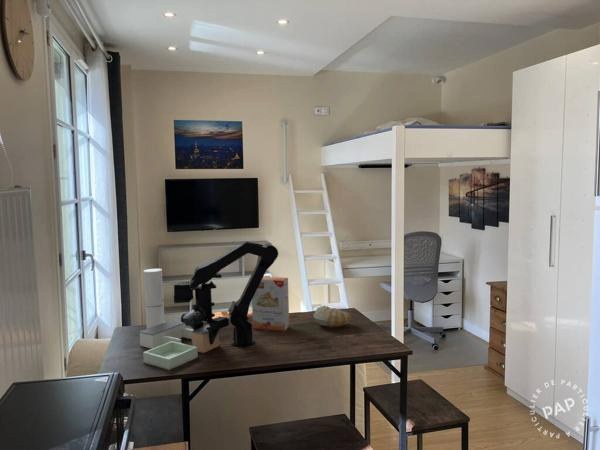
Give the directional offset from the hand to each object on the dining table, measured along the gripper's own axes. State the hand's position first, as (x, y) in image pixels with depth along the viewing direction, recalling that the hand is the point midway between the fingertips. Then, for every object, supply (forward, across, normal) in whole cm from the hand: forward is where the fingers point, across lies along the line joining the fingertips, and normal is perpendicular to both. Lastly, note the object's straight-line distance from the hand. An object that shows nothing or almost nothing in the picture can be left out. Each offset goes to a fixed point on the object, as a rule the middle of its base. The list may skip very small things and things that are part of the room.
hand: (205, 343), depth 169 cm
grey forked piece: (+2, -16, 0) cm, 16 cm away
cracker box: (+2, +7, +30) cm, 31 cm away
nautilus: (+2, +26, +46) cm, 53 cm away
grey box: (+2, 0, 0) cm, 2 cm away
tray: (+2, -2, -14) cm, 14 cm away
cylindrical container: (+2, -33, +5) cm, 33 cm away
